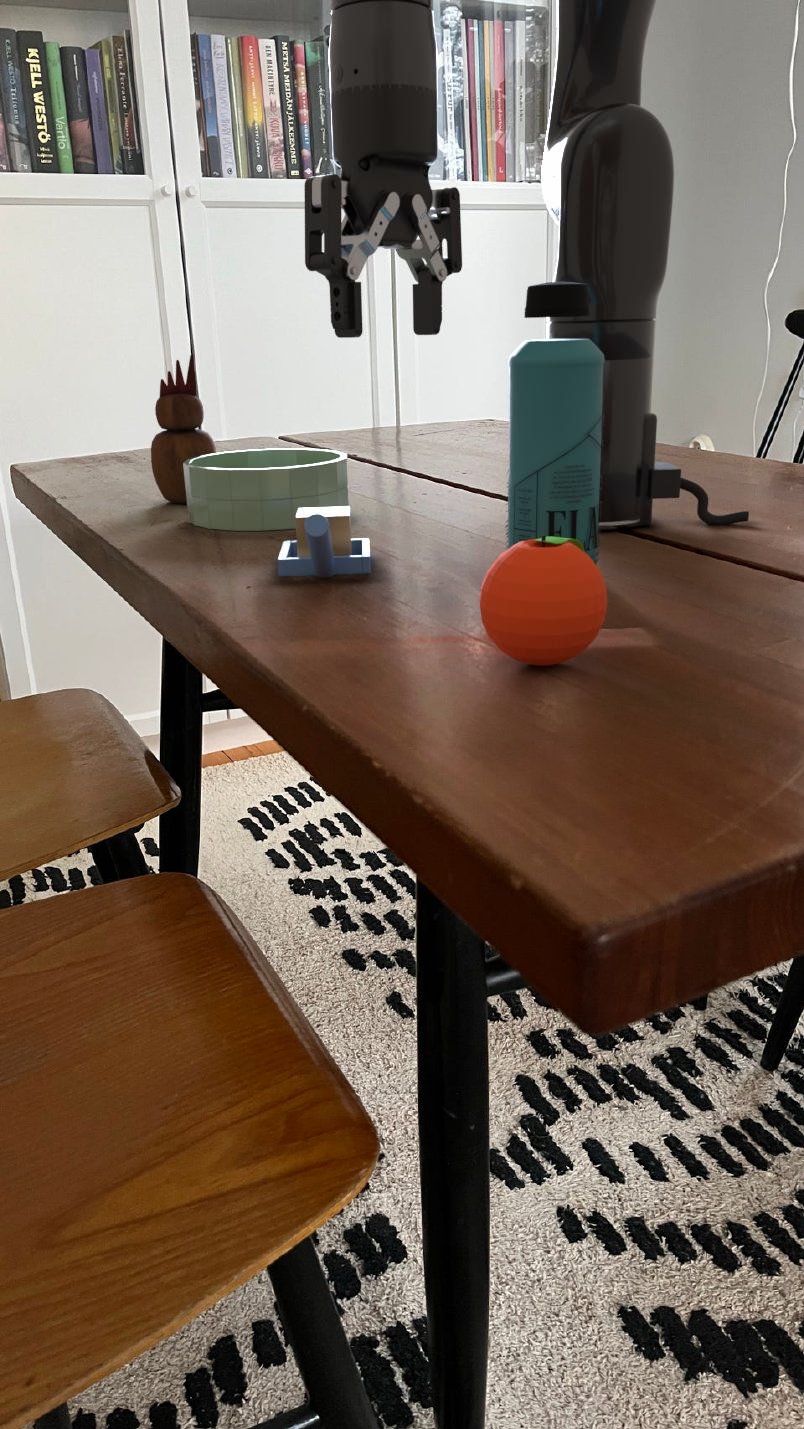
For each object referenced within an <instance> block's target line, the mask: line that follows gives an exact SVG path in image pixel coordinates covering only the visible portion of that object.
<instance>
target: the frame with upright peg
mask: <svg viewBox="0 0 804 1429" xmlns="http://www.w3.org/2000/svg"><path fill="white" fill-rule="evenodd" d="M304 528H305V533H306V537H307V542H308V547H309V551H310V556H311V557H298V552H297V540H284V541H283V543H282V546H281V548H280V551H279V555H278V557H277V572H278V576H279V577H295V576H296V577H299V576H315V577H317V578H320V579H321V578H322V579H324V578H325V579H327V578H332V577H333V576H335V575H353V574H354V575H355V574H371V573H372V568H371V567H372V566H371V565H372V564H371V563H372V562H371V543H370V541H371V540H370V538H369V537H365V538H351V539H352V555H350V556H333V549H332V542H331V535H330V528H329V522H328V520H327V518H326V517H325V516H323V515H321V514H312V515H310V516H309V517H308V518H307V519H306V520H305V523H304Z"/></svg>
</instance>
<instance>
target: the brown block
mask: <svg viewBox="0 0 804 1429" xmlns="http://www.w3.org/2000/svg"><path fill="white" fill-rule="evenodd" d="M312 514H321V515H323V516H325V517H326V518H327V520H328V522H329V528H330V535H331V542H332V549H333V556H350V555H352V539H353V538H352V523H351V522H352V521H351V520H352V519H351V506H350V505H349V506H345V507H316V508H298V511H297V514H296V517H295V521H296V529H295V532H296V534H295V535H296V541H297V552H298V557H311V556H310V551H309V547H308V542H307V537H306V533H305V528H304V523H305V520H306V519H307V518H308V517H309V516H310V515H312Z"/></svg>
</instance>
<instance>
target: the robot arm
mask: <svg viewBox="0 0 804 1429" xmlns="http://www.w3.org/2000/svg"><path fill="white" fill-rule="evenodd" d="M656 1H657V0H556V28H557V29H556V58H555V67H554V77H553V78H554V79H553V86H552V93H551V101H550V109H549V115H548V116H549V117H548V124H547V130H546V137H545V145H544V152H543V158H542V159H543V160H542V165H541V188H542V195H543V199H544V202H545V204H546V208H547V210H548V212H549V214H550V215H551V217H552V219H553V220H554V222H555V223H556V224H557V225H558V226H559V227H558V249H557V262H556V266H555V270H554V271H555V272H554V276H553V279H552V282H560V281H562V282H574V283H581V284H587V287H588V302H589V316H575V317H546V322H547V323H546V338H545V339H590V340H591V341H592V342H593V343H594V344H595V345H596V346H597V347H598V348H599V349H600V351H601V352H602V353H603V355H604V364H603V387H602V391H603V393H602V413H603V414H605V415H604V427H603V422H602V430H601V437H602V438H601V440H602V439H603V441H604V442H603V443H602V441H601V448H602V449H601V459H600V462H601V463H600V475H602V476H600V480H601V482H602V483H601V482H600V487H602V489H600V488H599V493H600V494H599V505H600V504H601V528H600V506H599V519H598V520H599V521H598V528H599V530H598V531H611V530H623V529H629V528H634V527H640V526H652V520H653V519H652V517H653V503H654V502H653V501H654V500H659V499H679V498H680V497H681V490H682V491H686V492H688V493H690V494H692V495H693V496H694V497H695V498H696V499H697V505H696V514H697V516H698V518H699V519H700V521H702V522H704V524H707V525H709V526H728V525H732V524H737V523H743V522H744V523H745V522H746V523H747V522H749V514H750V512H749V510H742V511H735V512H732V513H731V512H730V513H727V514H720V515H717V514H713V513H711V512H709V509H708V508H709V495H708V493H707V492H706V491H705V490H704V488H703V487H702V486H701V485H699V484H698V483H696V482H694V481H692V480H689V479H687V478H684V477H682V469H681V468H679V467H678V466H675V465H673V464H671V463H669V462H667V461H656V449H657V448H656V447H657V432H658V431H657V429H658V417H657V415H656V413H653V412H652V393H653V379H654V378H653V376H654V360H655V359H654V357H655V341H656V340H655V338H656V323H657V322H656V320H655V319H656V318H657V306H658V301H659V300H658V299H659V296H660V293H661V290H662V288H663V285H664V281H665V278H666V274H667V268H668V259H669V247H670V239H671V238H670V236H671V226H672V215H673V201H674V191H675V190H674V187H675V162H674V161H675V160H674V153H673V148H672V144H671V140H670V137H669V135H668V133H667V130H666V128H665V126H663V125H664V124H662V122H661V121H660V120H659V119H658V117H656V115H654V114H653V113H652V112H651V111H649V110H648V109H646V108H645V107H643V106H641V103H642V76H643V63H644V53H645V47H646V41H647V37H648V33H649V27H650V24H651V21H652V17H653V13H654V9H655V7H656V4H657V3H656ZM330 14H331V15H330V32H329V46H328V68H329V93H330V97H329V98H330V119H331V120H330V123H331V150H332V160H333V162H334V164H335V165H336V166H337V167H339V168H340V175H338V174H337V173H330V174H324V175H316V176H311V177H307V178H306V179H305V181H304V265H305V267H306V269H307V270H308V271H309V272H317V273H318V274H320V275H321V276H324V278H325V279H326V280H327V282H328V285H329V305H330V306H329V307H330V323H331V326H332V329H333V330H334V335H335V336H336V337H337V338H341V339H342V338H343V339H348V338H349V339H351V338H361V336H362V335H363V303H362V302H363V300H362V298H363V296H362V281H356V280H358V279H359V277H360V276H361V273H362V271H363V269H364V267H365V264H366V263H367V260H368V259H369V257H370V256H372V255H373V254H374V253H376V251H377V250H378V249H379V248H382V249H385V250H395V252H396V254H397V256H398V257H399V258H400V259H401V260H404V261H405V262H406V264H407V266H408V268H409V271H410V273H411V275H412V276H413V279H414V281H415V282H416V283H413V284H412V329H413V333H414V334H415V335H416V336H437V335H438V334H439V333H440V332H441V326H442V322H443V312H442V311H443V283H444V281H446V279H447V277H449V276H450V275H452V274H458V273H460V272H461V271H462V268H463V249H462V248H463V247H462V219H461V218H462V216H461V194H460V191H459V189H458V188H457V187H455V186H453V187H452V186H451V187H441V188H436V189H432V186H431V184H430V183H431V182H430V179H429V170H430V168H431V166H433V165H434V164H435V163H436V162H437V160H438V158H439V122H438V121H439V118H438V117H439V114H438V112H439V111H438V110H439V106H438V103H439V102H438V99H439V98H438V97H439V96H438V94H439V92H438V48H437V39H436V38H437V37H436V31H435V20H434V18H435V17H434V0H330ZM342 211H343V213H344V216H343V218H342ZM444 240H445V242H446V255H447V256H444V254H443V251H444V250H443V241H444ZM603 394H604V395H603ZM604 398H605V399H604ZM604 407H605V408H604ZM603 411H604V412H603ZM603 430H604V431H603ZM603 436H604V437H603ZM602 444H603V445H602ZM602 446H603V447H602ZM602 450H603V452H602ZM602 458H603V459H602ZM601 460H602V461H601ZM601 478H602V479H601ZM601 490H602V492H601ZM600 501H601V503H600Z"/></svg>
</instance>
